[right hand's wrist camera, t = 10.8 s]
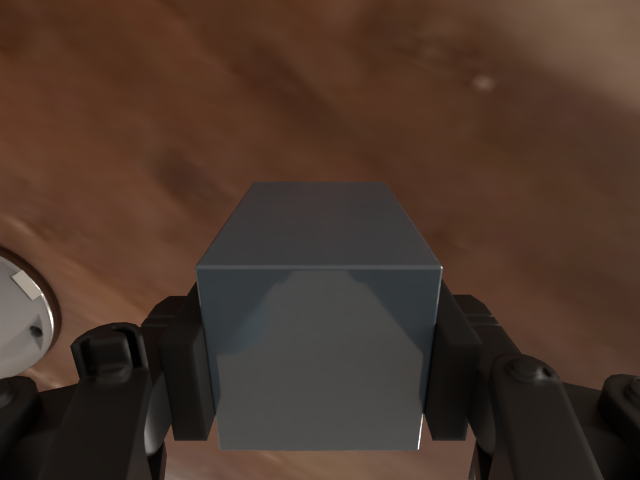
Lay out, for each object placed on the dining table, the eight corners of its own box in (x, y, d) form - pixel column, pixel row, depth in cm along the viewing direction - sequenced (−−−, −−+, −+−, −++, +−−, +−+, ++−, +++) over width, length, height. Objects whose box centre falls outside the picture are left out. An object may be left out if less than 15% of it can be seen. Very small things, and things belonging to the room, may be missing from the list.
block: (378, 299, 17) (420, 452, 10) (260, 299, 17) (218, 452, 10) (385, 181, 15) (444, 266, 8) (252, 181, 15) (192, 266, 8)
